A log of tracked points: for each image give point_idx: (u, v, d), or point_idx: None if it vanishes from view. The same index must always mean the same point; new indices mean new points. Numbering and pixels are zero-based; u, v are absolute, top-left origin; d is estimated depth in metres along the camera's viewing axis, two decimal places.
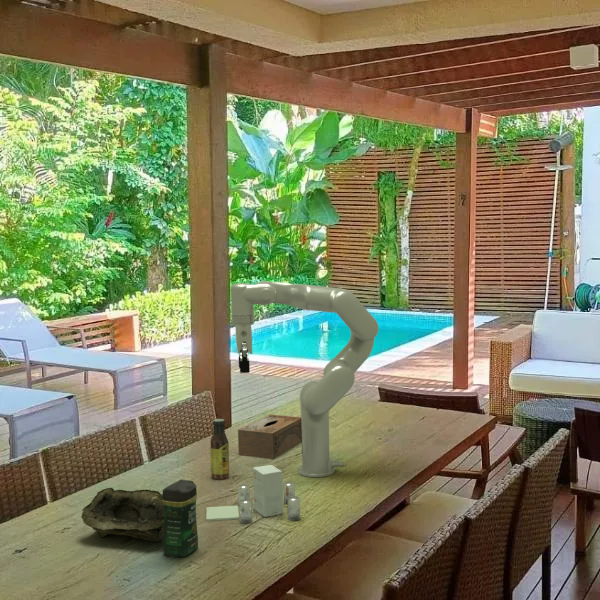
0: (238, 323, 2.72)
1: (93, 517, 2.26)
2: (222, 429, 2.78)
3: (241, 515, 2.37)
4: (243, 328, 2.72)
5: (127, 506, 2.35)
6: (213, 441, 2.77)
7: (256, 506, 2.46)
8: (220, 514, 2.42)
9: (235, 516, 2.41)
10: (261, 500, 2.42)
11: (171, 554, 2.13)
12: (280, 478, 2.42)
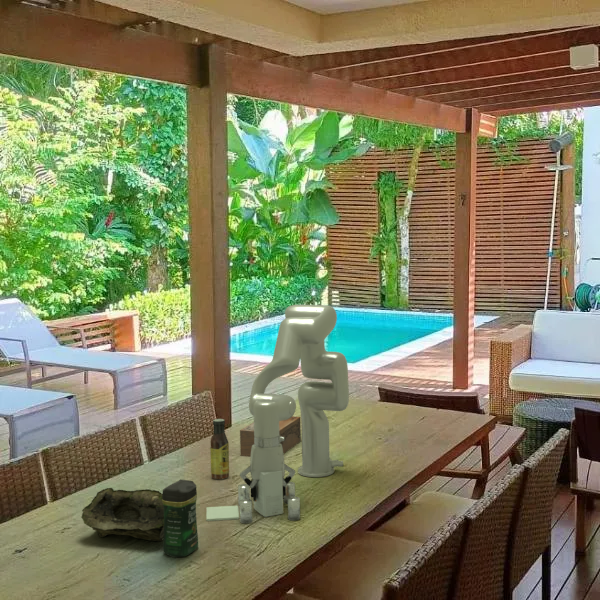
0: (278, 444, 2.43)
1: (93, 517, 2.25)
2: (222, 429, 2.78)
3: (241, 515, 2.37)
4: (282, 448, 2.45)
5: (127, 506, 2.35)
6: (213, 441, 2.77)
7: (256, 506, 2.46)
8: (220, 514, 2.42)
9: (235, 516, 2.41)
10: (261, 500, 2.42)
11: (171, 554, 2.13)
12: (280, 478, 2.42)
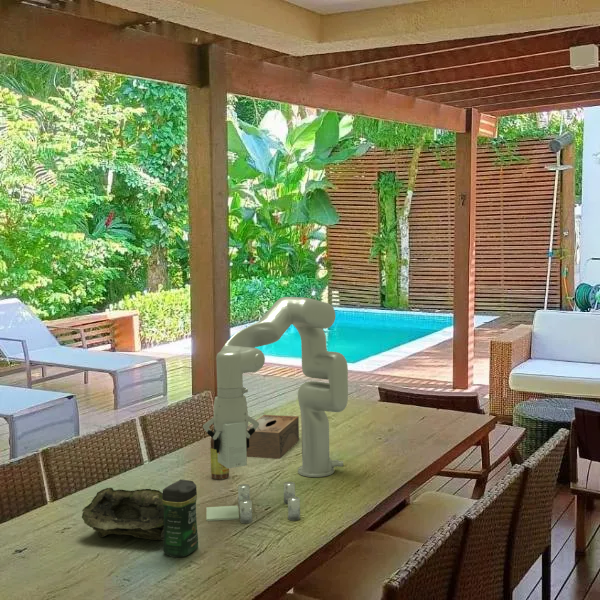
0: (242, 395, 2.40)
1: (94, 517, 2.26)
2: None
3: (241, 515, 2.37)
4: (245, 399, 2.42)
5: (126, 506, 2.35)
6: (213, 441, 2.77)
7: (219, 459, 2.44)
8: (220, 514, 2.42)
9: (235, 516, 2.41)
10: (224, 452, 2.40)
11: (171, 554, 2.13)
12: (244, 429, 2.40)
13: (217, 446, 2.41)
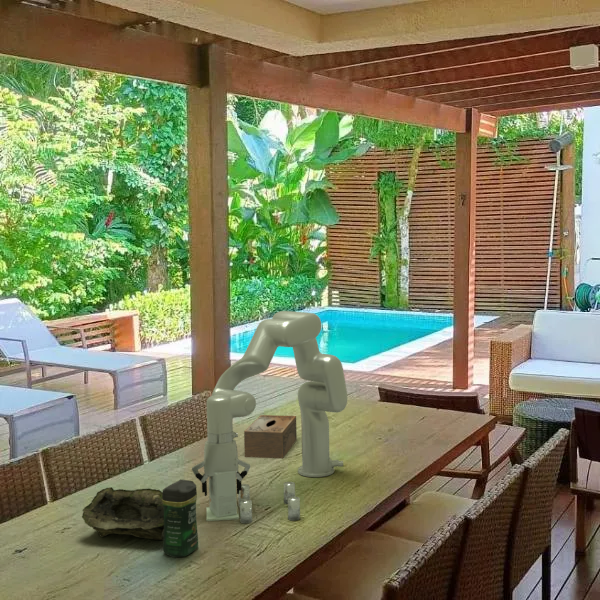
0: (232, 440, 2.41)
1: (94, 517, 2.26)
2: None
3: (241, 515, 2.37)
4: None
5: (126, 505, 2.35)
6: None
7: (210, 506, 2.45)
8: None
9: (235, 516, 2.41)
10: (214, 500, 2.41)
11: (171, 554, 2.13)
12: (234, 478, 2.41)
13: (205, 489, 2.42)
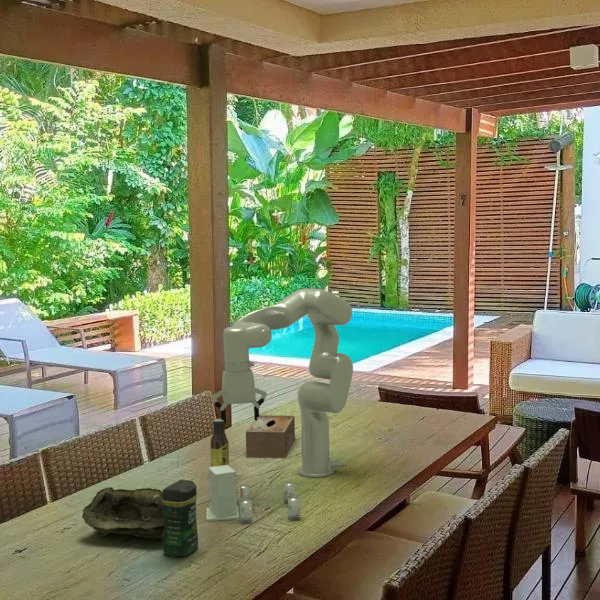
0: (248, 369, 2.51)
1: (95, 517, 2.26)
2: (222, 429, 2.78)
3: (241, 515, 2.37)
4: (252, 373, 2.53)
5: (126, 505, 2.36)
6: (213, 441, 2.77)
7: (210, 506, 2.45)
8: None
9: (235, 516, 2.41)
10: (214, 500, 2.41)
11: (171, 554, 2.13)
12: (234, 478, 2.41)
13: (224, 417, 2.52)
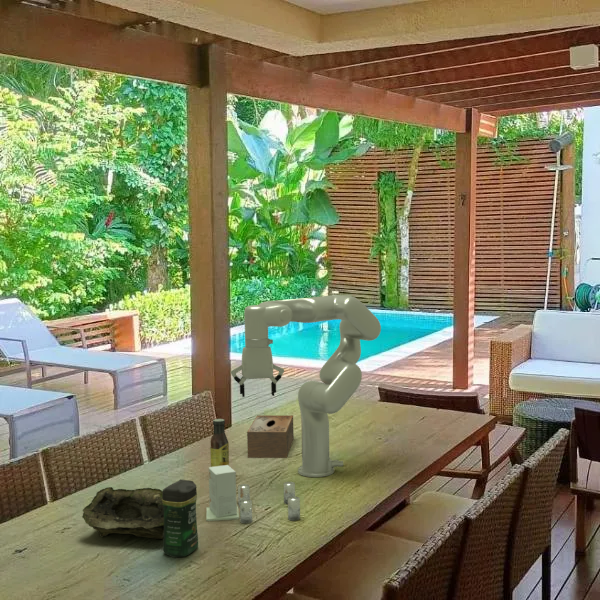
0: (267, 346, 2.64)
1: (95, 517, 2.26)
2: (222, 429, 2.78)
3: (241, 515, 2.37)
4: None
5: (126, 505, 2.36)
6: (213, 441, 2.77)
7: (210, 506, 2.45)
8: None
9: (235, 516, 2.41)
10: (214, 500, 2.41)
11: (171, 554, 2.13)
12: (234, 478, 2.41)
13: (243, 391, 2.64)
